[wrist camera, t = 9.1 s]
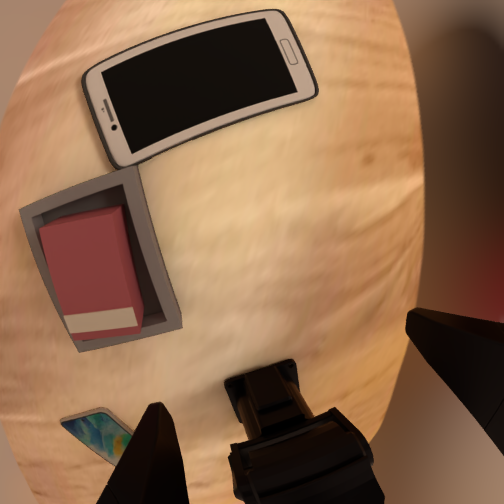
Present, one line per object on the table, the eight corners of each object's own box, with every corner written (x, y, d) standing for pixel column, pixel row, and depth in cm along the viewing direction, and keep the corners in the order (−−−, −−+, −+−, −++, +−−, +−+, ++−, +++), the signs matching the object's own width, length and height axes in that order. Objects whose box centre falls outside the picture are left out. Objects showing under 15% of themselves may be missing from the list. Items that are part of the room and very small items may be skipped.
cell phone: (317, 98, 18) (323, 96, 17) (118, 175, 16) (115, 176, 15) (279, 11, 15) (283, 6, 14) (81, 77, 13) (76, 73, 13)
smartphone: (141, 483, 25) (56, 422, 20) (140, 478, 26) (58, 416, 20) (186, 473, 26) (104, 409, 20) (186, 468, 27) (105, 402, 21)
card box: (61, 216, 15) (38, 229, 12) (123, 203, 16) (111, 213, 13) (86, 313, 17) (73, 341, 14) (144, 305, 18) (140, 334, 15)
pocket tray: (181, 312, 20) (182, 328, 18) (85, 336, 18) (79, 352, 16) (137, 165, 16) (132, 165, 14) (32, 204, 15) (18, 209, 13)
